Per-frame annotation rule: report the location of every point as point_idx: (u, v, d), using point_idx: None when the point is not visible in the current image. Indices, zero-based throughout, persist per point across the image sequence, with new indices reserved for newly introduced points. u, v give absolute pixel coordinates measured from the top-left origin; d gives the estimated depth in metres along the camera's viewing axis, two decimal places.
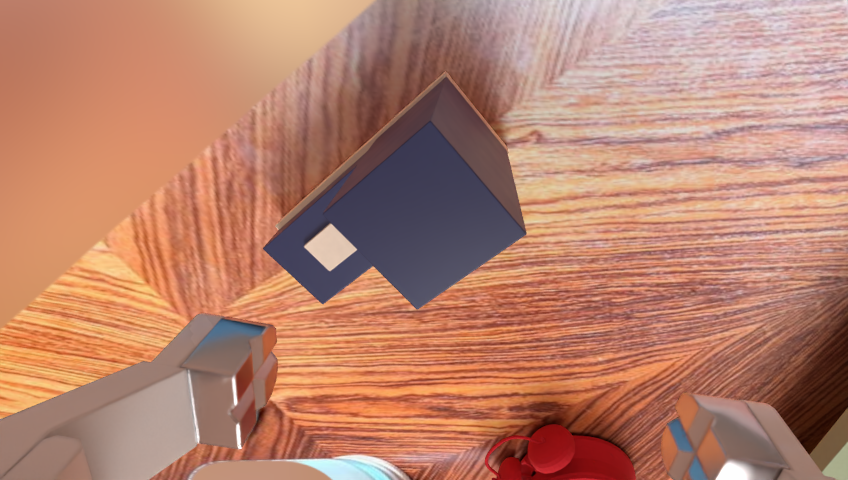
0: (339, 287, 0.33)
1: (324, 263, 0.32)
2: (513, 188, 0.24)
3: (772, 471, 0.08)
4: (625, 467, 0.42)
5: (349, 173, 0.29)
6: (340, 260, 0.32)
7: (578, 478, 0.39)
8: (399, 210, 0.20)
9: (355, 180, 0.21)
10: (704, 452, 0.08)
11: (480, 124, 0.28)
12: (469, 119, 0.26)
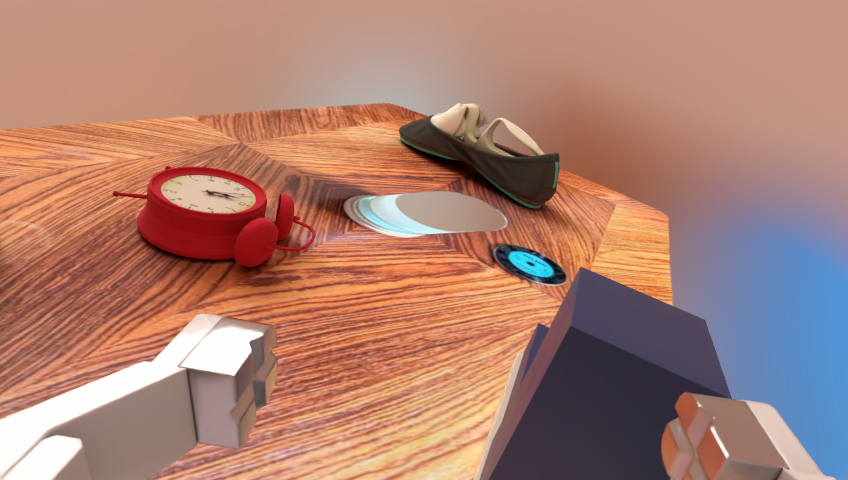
0: (538, 337, 0.35)
1: None
2: (530, 417, 0.20)
3: (772, 471, 0.08)
4: (160, 232, 0.38)
5: None
6: None
7: (230, 214, 0.38)
8: (669, 329, 0.20)
9: None
10: (704, 452, 0.08)
11: None
12: None
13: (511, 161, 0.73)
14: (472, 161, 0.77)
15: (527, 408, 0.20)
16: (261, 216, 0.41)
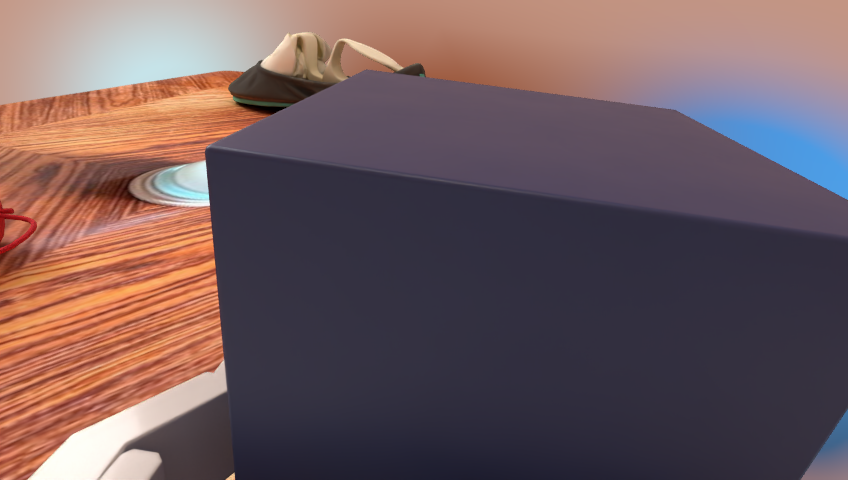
0: None
1: None
2: None
3: None
4: None
5: None
6: None
7: None
8: (606, 126, 0.07)
9: None
10: None
11: None
12: None
13: None
14: None
15: None
16: None
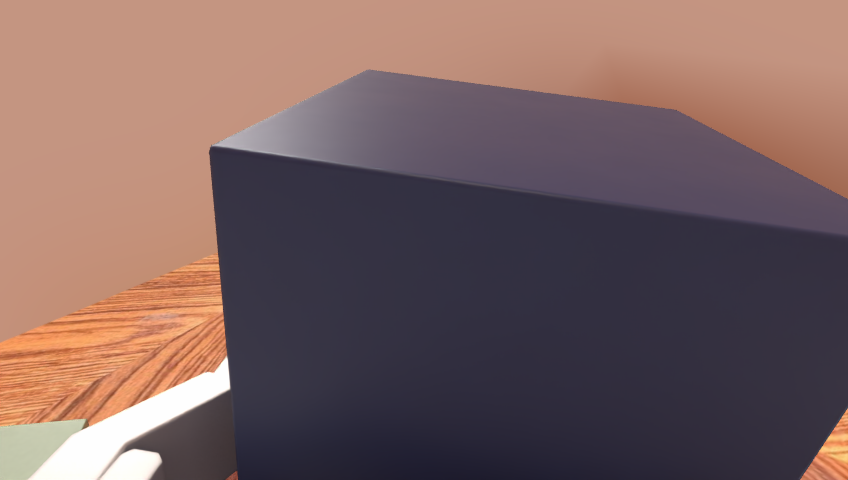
0: None
1: None
2: None
3: None
4: None
5: None
6: None
7: None
8: (607, 125, 0.07)
9: None
10: None
11: None
12: None
13: None
14: None
15: None
16: None
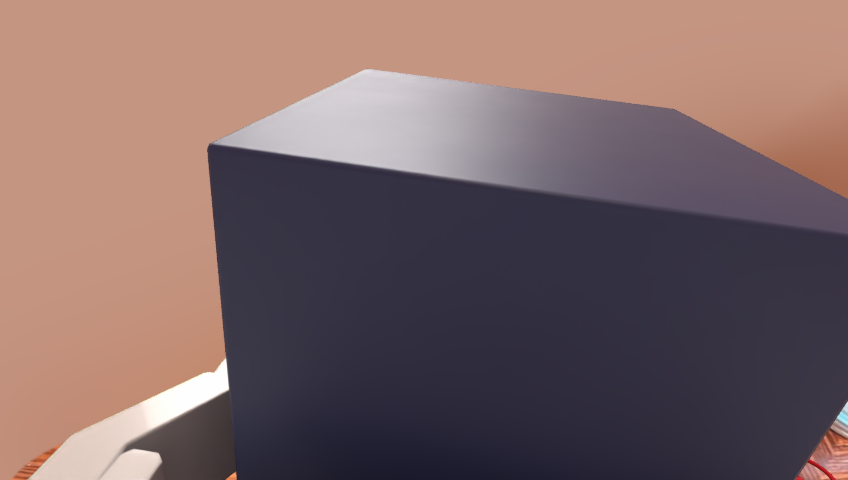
0: None
1: None
2: None
3: None
4: None
5: None
6: None
7: None
8: (605, 125, 0.07)
9: None
10: None
11: None
12: None
13: None
14: None
15: None
16: None
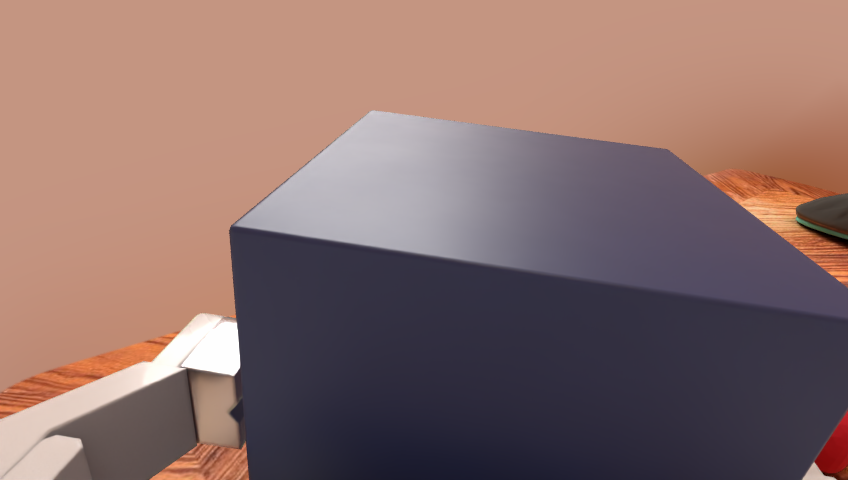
0: None
1: None
2: None
3: None
4: None
5: None
6: None
7: None
8: (598, 177, 0.07)
9: None
10: None
11: None
12: None
13: None
14: None
15: None
16: None
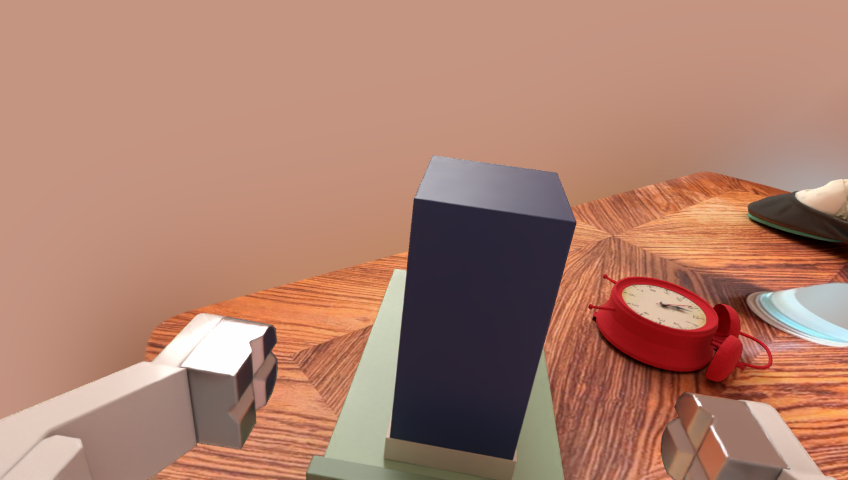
0: None
1: None
2: (410, 306, 0.20)
3: (772, 471, 0.08)
4: (633, 343, 0.43)
5: None
6: None
7: (701, 331, 0.41)
8: (519, 184, 0.21)
9: None
10: (704, 452, 0.08)
11: (451, 417, 0.22)
12: (480, 384, 0.21)
13: None
14: None
15: (404, 298, 0.20)
16: None
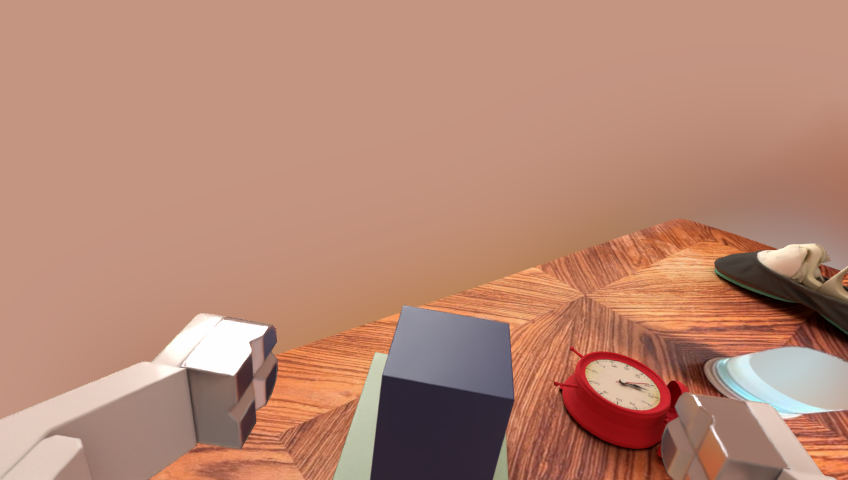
0: None
1: None
2: (379, 452, 0.24)
3: (772, 471, 0.08)
4: (593, 421, 0.47)
5: None
6: None
7: (653, 413, 0.45)
8: (473, 346, 0.24)
9: None
10: (704, 452, 0.08)
11: None
12: None
13: None
14: (817, 308, 0.72)
15: (374, 446, 0.23)
16: None
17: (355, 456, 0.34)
